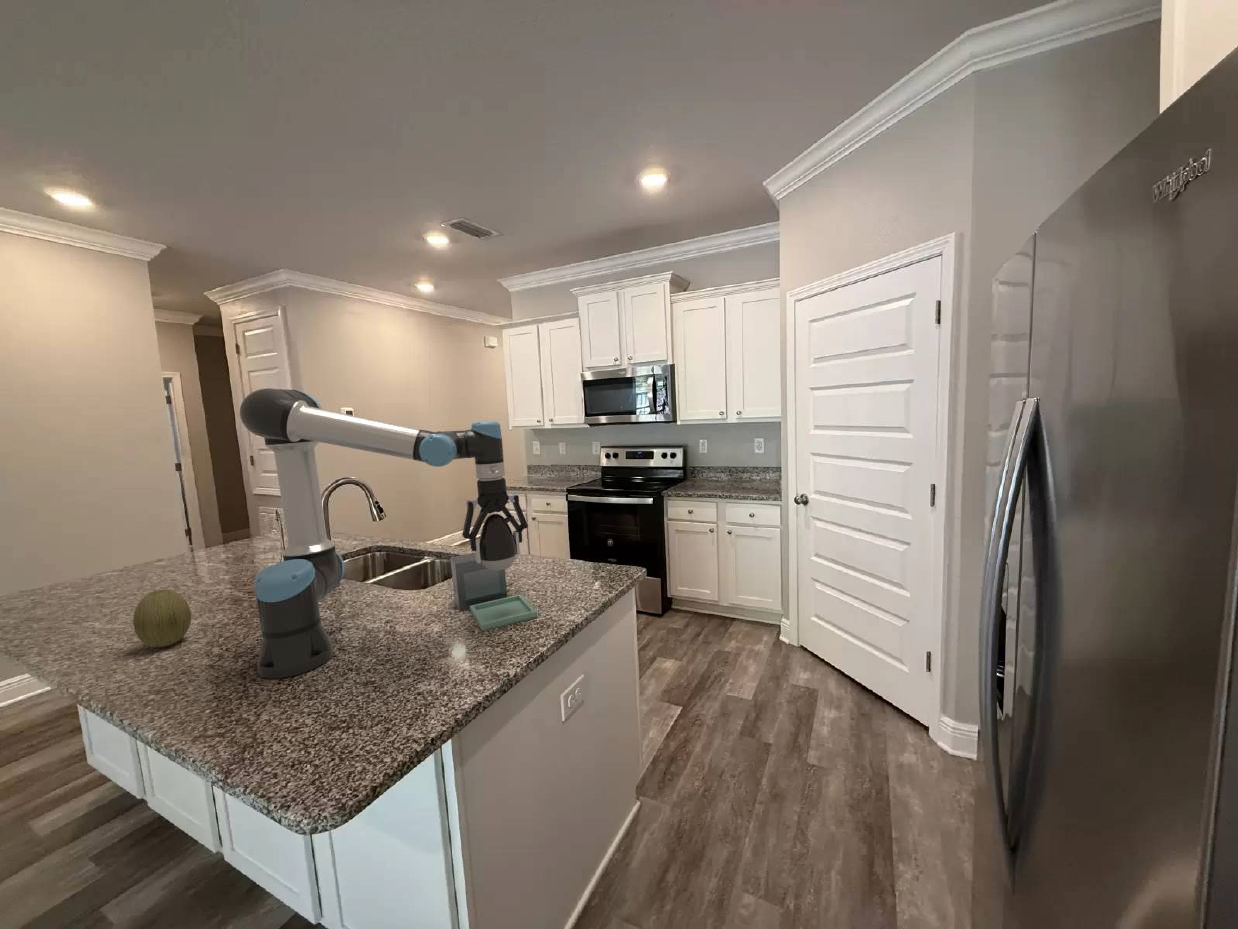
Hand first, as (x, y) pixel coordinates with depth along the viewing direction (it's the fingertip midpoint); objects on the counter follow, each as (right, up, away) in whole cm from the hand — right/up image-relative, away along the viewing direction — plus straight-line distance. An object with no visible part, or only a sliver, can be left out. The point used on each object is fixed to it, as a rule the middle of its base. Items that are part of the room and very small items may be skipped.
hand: (498, 558), depth 137 cm
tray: (+1, -16, +2) cm, 16 cm away
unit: (-8, -15, +13) cm, 22 cm away
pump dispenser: (0, -3, 0) cm, 3 cm away
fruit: (-87, -22, -5) cm, 89 cm away
